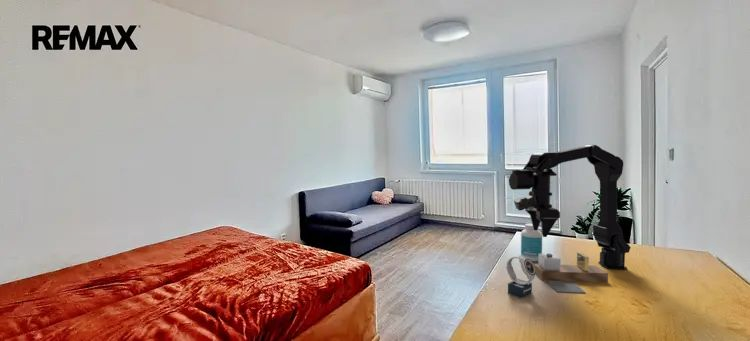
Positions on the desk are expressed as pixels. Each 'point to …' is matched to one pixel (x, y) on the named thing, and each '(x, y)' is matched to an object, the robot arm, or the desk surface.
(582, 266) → the tan wooden flat block
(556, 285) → the pad
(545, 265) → the grey knobbed cube
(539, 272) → the body
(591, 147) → the robot arm
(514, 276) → the watch
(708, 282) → the desk surface
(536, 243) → the pill bottle
